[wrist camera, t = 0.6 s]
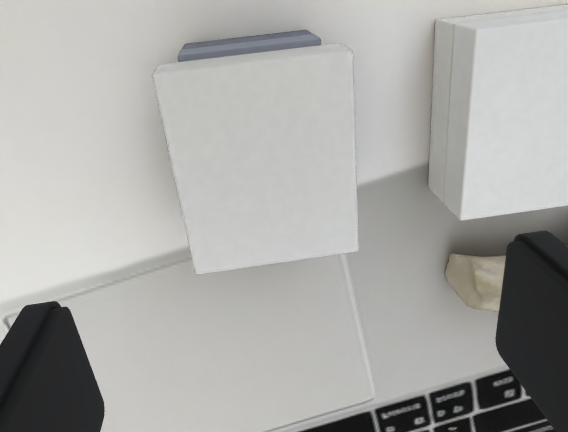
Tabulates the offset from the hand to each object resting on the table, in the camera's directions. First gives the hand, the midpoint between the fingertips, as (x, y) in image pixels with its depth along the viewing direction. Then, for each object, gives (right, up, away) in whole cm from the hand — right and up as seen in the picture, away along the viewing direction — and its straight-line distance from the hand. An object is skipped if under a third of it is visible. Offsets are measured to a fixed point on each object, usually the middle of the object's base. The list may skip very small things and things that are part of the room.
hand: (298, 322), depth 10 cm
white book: (-1, +5, +8) cm, 9 cm away
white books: (+9, +7, +11) cm, 17 cm away
